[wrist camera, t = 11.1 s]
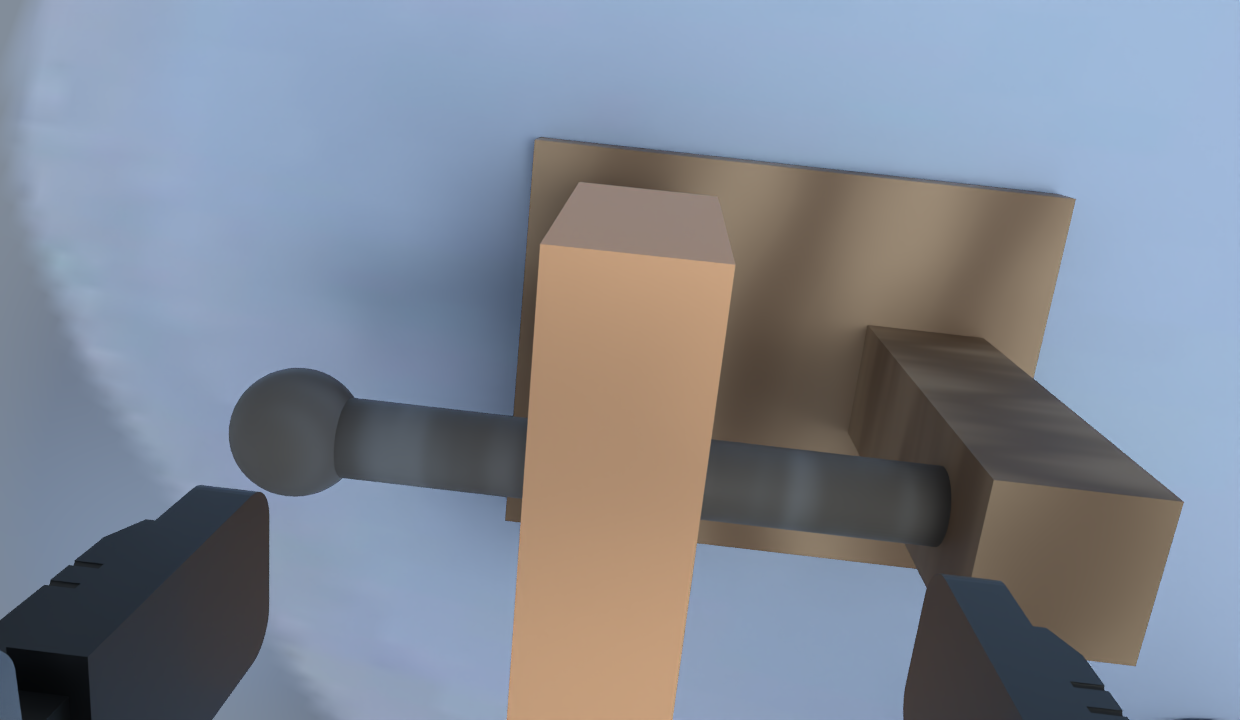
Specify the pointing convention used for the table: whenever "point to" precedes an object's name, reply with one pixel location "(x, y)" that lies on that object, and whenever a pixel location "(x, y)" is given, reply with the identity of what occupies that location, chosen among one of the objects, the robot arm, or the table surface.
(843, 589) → the table surface
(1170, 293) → the table surface
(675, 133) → the table surface
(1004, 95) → the table surface
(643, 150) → the hook stand
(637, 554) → the wooden staple shape
